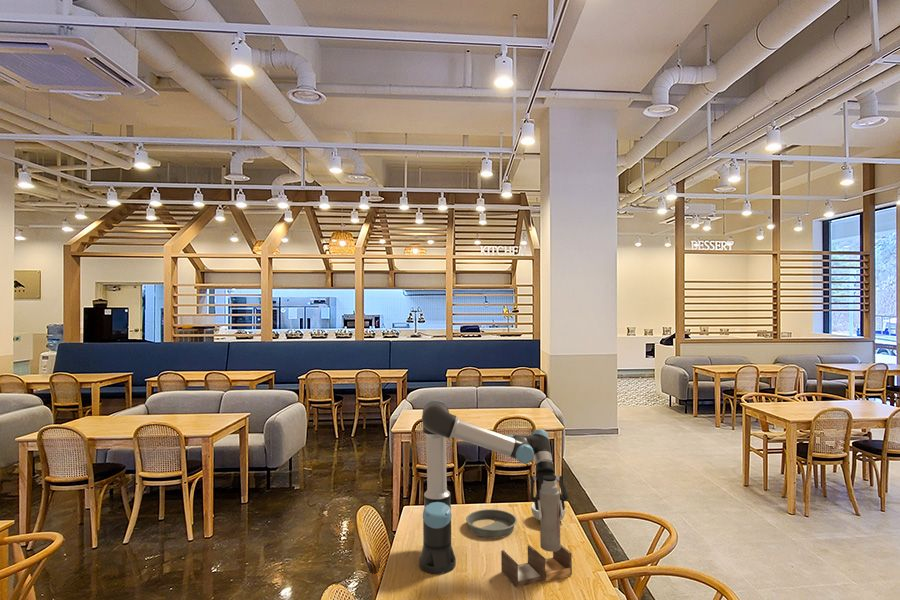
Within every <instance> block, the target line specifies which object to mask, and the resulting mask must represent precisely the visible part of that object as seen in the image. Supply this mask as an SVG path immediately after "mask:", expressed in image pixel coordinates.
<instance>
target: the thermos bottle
mask: <svg viewBox="0 0 900 600" xmlns="http://www.w3.org/2000/svg"><path fill="white" fill-rule="evenodd" d="M559 491H560V489H559V486H558V485H557V483H556V479H555V477H553V476H544V477H543V484H542V485H541V490H540V495H539V500H540V506H541V514H542V518H541V519H540V521H539V524H540V527H539V529H540V530H539V533H540V534H539V537H540V538H539V539H540V543H539V544H540V548H541V549H542V550H543V551H545V552H551V553H553V552H555V551H558V550H560V548H561V520H560V493H561V491H560V492H559Z"/></svg>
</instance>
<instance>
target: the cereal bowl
mask: <svg viewBox="0 0 900 600" xmlns="http://www.w3.org/2000/svg"><path fill="white" fill-rule="evenodd" d="M530 508H531V513H532V516H533V518H535V519H536V520H537V521H539V522H540V519H539V513H538V510H536V509H535V503H534V502H532V504H531V507H530ZM563 515H564V517H565V515H566V508H565V509H564V510H563ZM562 520H563V519H561V516H560V521H562Z"/></svg>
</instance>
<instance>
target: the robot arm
mask: <svg viewBox="0 0 900 600" xmlns="http://www.w3.org/2000/svg"><path fill="white" fill-rule="evenodd" d="M421 422H422V423H421V424H422V433H423V434H424V436H426V480H427V482H426V484H427V487H426V491H424V493H423V500H424V501H423V503H424V504H423V505H424V507H423V509H422V511H423V512H422V520H423V521H422V532H423V533H422V537H423V538H422V539H423V542H422V543H423V545H422V548H421V552H420V554H419V555H420V556H419V558H418V559H419V560H418V564H419V565H418V566H419V568H420V570H422V571H424V572H425V573H428V574H433V575H434V574H435V575H439V574H445V573H448V572H451V571H452V570H453V569H455V567H456V563H457V562H456V560H457V559H456V556H455V553H454V549H453V545H452V518H453V517H452V516H453V515H452V506H451V504H452V503H451V492H450V491H449V490H448V486H447V485H448V484H447V483H448V482H447V439H452V438H454V439H457V440H461V441H463V442H466V443H470V444H472V445H475V446H478V447H480V448H481V447H482V448H484V449H487V450H490V451H493V452H496V453H499V454H501V455H504V456H507V457H509V458H512V459H515V460H517V461H518V462H519V463H520V464H525V465H526V464H530V463H531V462H532V461H533V460H534V464H535V466H534V467H535V472H536V473H535V474H536V475H535V476H532V475H530V476H529V482H530V487H529V488H530V489H529V502H532V503H535V509H536V510H538V513H539V519H541V518H542V514H541V506H540V490H541V485H542V484H543V477H544V476H553V477H555V481H557V483H558V485H559V486H558V487H559V488H560V489H559V492H560V516H561V519H562V520H564V517H565V516H564V515H563V510H564V509H565V510H566V506H565V505H566V504H565V502H567V501H568V498H569V496H568V493H567V490H566V488H565V485H564V482H563V481H564V480H563V478H564V477H563V476H562V475H560V476H557V475H556V473H555V469H554V464H553V463H554V462H553V456H552V450H551V444H550V437H549V434H548V432H547V431H546V430H544V429H537V430H536V429H535V430H533V431H532V433H531V434H530V435H525V434H507V435H504V434H501V433H499V432H495V431H493V430H490V429H487V428H484V427H482V426H479V425H476V424H473V423H472V422H471V423H470V422H467V421H465V420H461V419H459V418H458V415H455V414H452V413H450V410H449V407H448V406H447V405H446V403H445V402H443V401H441V400H437V399H436V400H431V401H429V402H427V403H426V404H425V405H424V407H423V409H422V414H421ZM536 481H537V482H538V483H539V484H538V486H537V487H538V488H537V490H536V495H535V497H534V491H535V483H536Z"/></svg>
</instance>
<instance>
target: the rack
mask: <svg viewBox="0 0 900 600" xmlns="http://www.w3.org/2000/svg"><path fill="white" fill-rule="evenodd" d="M572 555H573V554H572V552H571V551H569V549H567V548H566V547H564V546H563V545H561V548H560V550H558V551H555V552H552V557H548V558H545V557H544V556H543V555H542V554H541V553H540V552H538V551H537V550H536V549H535V548H534V547H533V546H531V545H530V544H529V545H527V562H525V563H519V564H518V563H517V561H515V560H514V559H513V558H512V557H511V556H510V555H509V554H508V553H507V552H506V551H505V550H504V549H503V550H501V551H500V556H501V558H500V559H501V563H500V565H501V574H503V575H504V576H505V578H507V580H508V581H509V582H510V583H511V584H512V585H513V586H514V588H521V587H524V586H529V585H532V584H533V585H534V584H537V583H542V582H550V581H554V580H559V579H564V578H567V577H571V576H572V575H573V572H572V571H573V570H572V569H573V564H572V559H573V558H572Z"/></svg>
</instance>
